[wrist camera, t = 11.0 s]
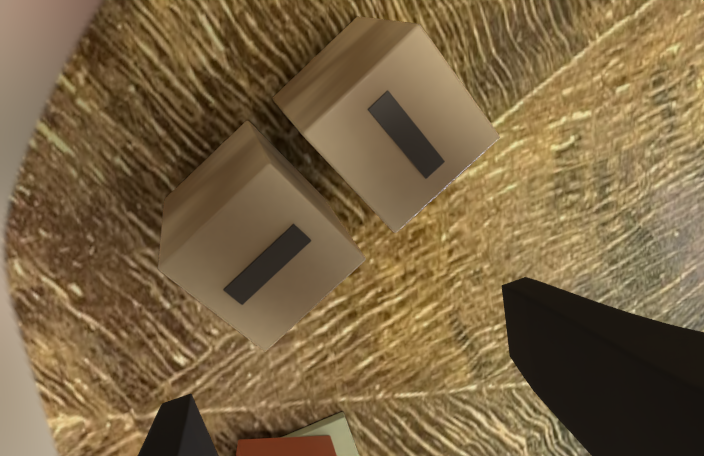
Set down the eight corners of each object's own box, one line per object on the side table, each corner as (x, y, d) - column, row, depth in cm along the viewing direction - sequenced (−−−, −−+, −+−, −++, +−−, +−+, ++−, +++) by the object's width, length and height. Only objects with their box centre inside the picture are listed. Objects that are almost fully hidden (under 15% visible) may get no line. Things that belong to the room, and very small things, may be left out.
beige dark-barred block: (246, 270, 21) (265, 355, 16) (163, 199, 19) (156, 270, 14) (324, 197, 21) (368, 261, 16) (247, 119, 19) (270, 163, 14)
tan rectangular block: (345, 178, 21) (396, 236, 16) (270, 98, 19) (302, 135, 14) (426, 103, 21) (503, 138, 16) (358, 15, 19) (421, 22, 14)
